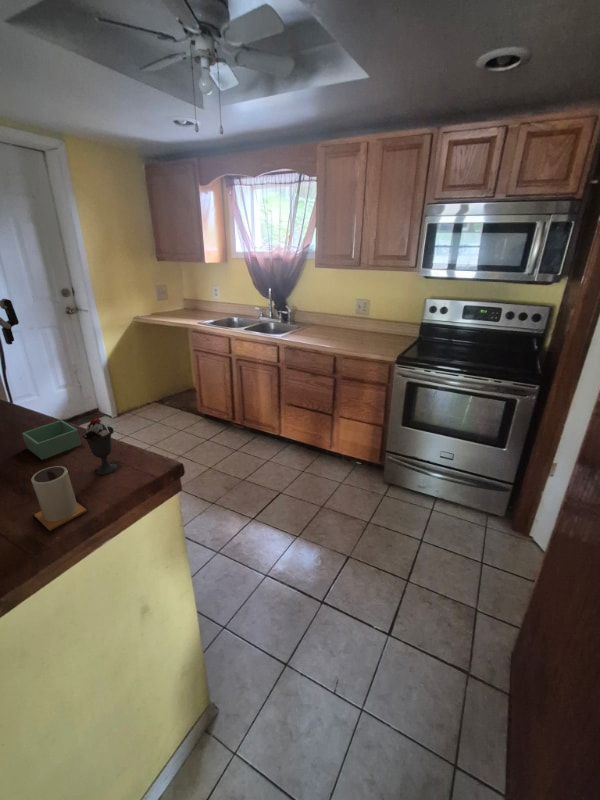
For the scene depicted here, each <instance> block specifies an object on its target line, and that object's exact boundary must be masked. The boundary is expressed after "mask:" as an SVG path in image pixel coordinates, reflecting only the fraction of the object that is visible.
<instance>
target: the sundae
mask: <svg viewBox="0 0 600 800" xmlns="http://www.w3.org/2000/svg"><path fill="white" fill-rule="evenodd" d="M92 412H93V414H94V415H93V418H92V419H90V422H89V424H88V425H87V427H86V430H85V431H84V432H83V434H81V438H82V439H84V440H86V442H87V444H88V447H89V449H90V451H91V453H92V455H93V456H94V457H96V458H100V459H101V466H99V468H98V469H95V470H94V472H95V474H97V475H101V476H103V475H108V474H112V473H114V472H115V471H116V470H117V469H118V464H117V463H115V462H111V463H110V462H109V461H108V457H109V456H110V454H111V452H112V449H113V447H112V446H113V445H112V435H113V434H114V432H115V430H114V428H113V427H112V426H110V425H107V424H105V423H104V422H102V419H100V418H99V416H98V414H97V413H96V409H94V410H92ZM95 417H96V418H95Z"/></svg>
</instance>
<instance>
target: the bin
mask: <svg viewBox="0 0 600 800" xmlns="http://www.w3.org/2000/svg"><path fill="white" fill-rule="evenodd" d="M21 435H22V438H23V441H24V444H25V447H26V449H27V450H29V451H30V452H31V453H32V454H34V455H35V456H36V457H37V458H39V459H40V460H42V461H43V460H45V459H48V458H50V457H53V456H57V455H58V454H61V453H64V452H66V451H69V450H71V449H73V448H77V447H79V446H81V445H82V441H81V437H80V434H79V430H78V428H76V427H74V426H73V425H70V424H69V423H68V422H65V421H63V420H62V419H60V420H57V421H54V422H50V423H48V424H44V425H41V426H39V427H35V428H33V429H29V430H27V431H24V432H21Z"/></svg>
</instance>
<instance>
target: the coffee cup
mask: <svg viewBox="0 0 600 800" xmlns="http://www.w3.org/2000/svg"><path fill="white" fill-rule="evenodd" d="M30 481H31V484H32V488H33V490H34V493H35V497H36V499H37V502H38V505H39V509H40V511H42V514H43V517H44V519H45V520H47V521H51V522H54V521H60V520H63V519H66V518H68V517H69V516H71V515H72V514H74V513H75V512H76V510H77V508H78V505H77V503H78V502H77V498H76V495H75V491H74V487H73V484H72V481H71V478H70V475H69V471H68V468H67V467H65V466H62V465H55V466H50V467H46V468H43V469H41V470H39V471H37V472H35V473H34V474H33V476H32V477H31V479H30Z"/></svg>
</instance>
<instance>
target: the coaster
mask: <svg viewBox="0 0 600 800" xmlns="http://www.w3.org/2000/svg"><path fill="white" fill-rule="evenodd" d="M77 505H78V508H77V510H76V512H75V513H74V514H72V515H71V516H69V517H68V518H66V519H63V520H60V521H54V522H51V521H47V520H45V519H44V517H43V514H42V511H41V510H40V511H38V512H36V513H34V514H33V515H34V517H35V519H37V520H38V521H39V522H40V523H41V524H42V525H43V526H44V527H45V528H46V529H47V530H48V531H49V532H51V531H52V530H54V529H56V528H59V527H60V526H63V525H64V524H66V523H68V522H69V521H72V520H73V519H75V518H77V517H79V516H81V515H83V514H85V513H87V511H88V510H87V509H86V508H85V507H84V506H82V505H81V504H80V503H79V502H77Z"/></svg>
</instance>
